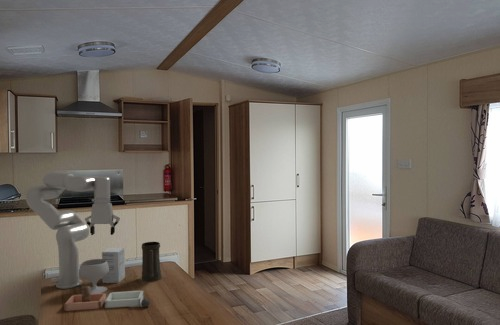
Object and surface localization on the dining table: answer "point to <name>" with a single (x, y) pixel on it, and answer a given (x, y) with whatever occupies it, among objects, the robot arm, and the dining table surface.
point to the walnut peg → (86, 294)
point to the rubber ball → (145, 302)
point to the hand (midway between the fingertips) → (102, 234)
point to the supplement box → (114, 265)
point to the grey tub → (124, 299)
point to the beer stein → (150, 261)
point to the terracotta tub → (77, 303)
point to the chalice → (94, 273)
